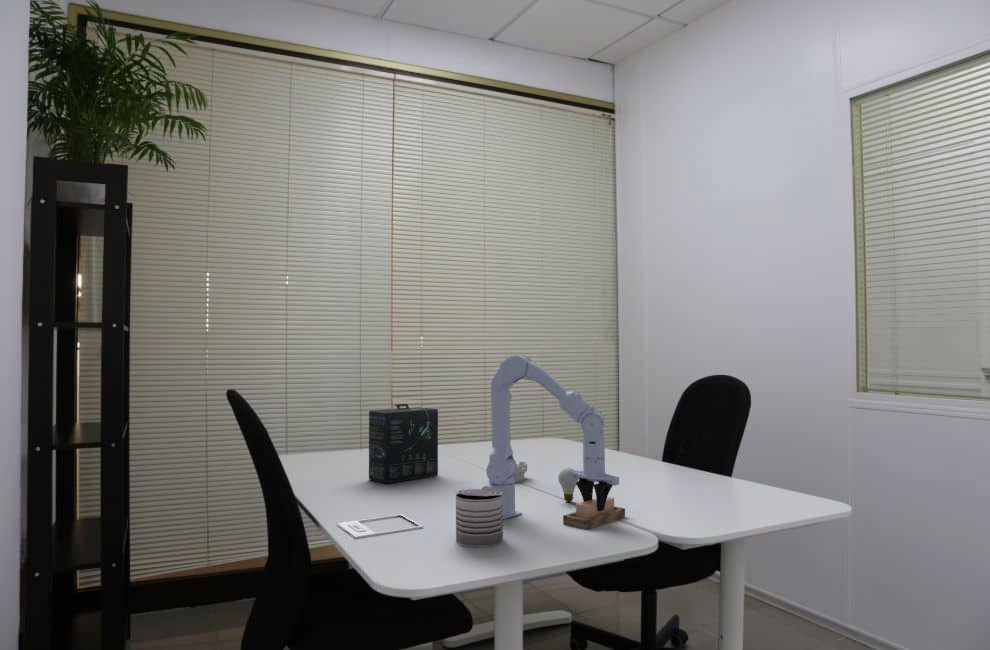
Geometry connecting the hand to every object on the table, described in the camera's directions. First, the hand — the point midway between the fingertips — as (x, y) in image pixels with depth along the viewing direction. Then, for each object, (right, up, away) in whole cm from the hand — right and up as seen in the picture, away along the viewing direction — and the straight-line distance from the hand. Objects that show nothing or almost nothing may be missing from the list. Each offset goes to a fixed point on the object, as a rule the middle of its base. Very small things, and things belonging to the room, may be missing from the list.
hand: (594, 509), depth 180 cm
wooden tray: (0, -3, 0) cm, 3 cm away
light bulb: (-5, -4, +21) cm, 22 cm away
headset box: (-58, -5, +60) cm, 84 cm away
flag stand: (-22, -5, +56) cm, 60 cm away
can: (-30, -3, -17) cm, 35 cm away
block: (0, -2, 0) cm, 2 cm away
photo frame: (-56, -4, -4) cm, 56 cm away
